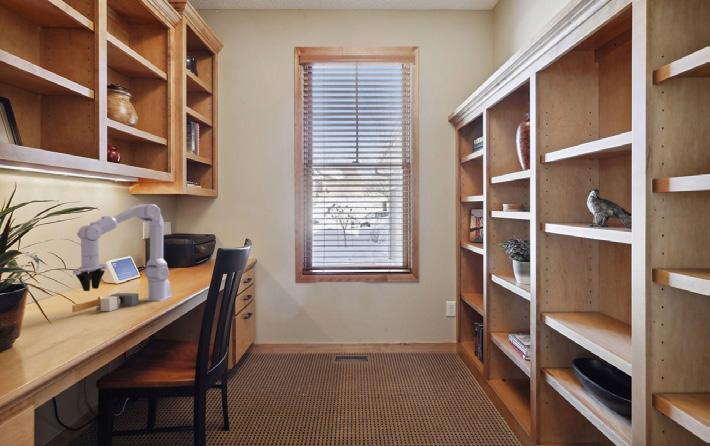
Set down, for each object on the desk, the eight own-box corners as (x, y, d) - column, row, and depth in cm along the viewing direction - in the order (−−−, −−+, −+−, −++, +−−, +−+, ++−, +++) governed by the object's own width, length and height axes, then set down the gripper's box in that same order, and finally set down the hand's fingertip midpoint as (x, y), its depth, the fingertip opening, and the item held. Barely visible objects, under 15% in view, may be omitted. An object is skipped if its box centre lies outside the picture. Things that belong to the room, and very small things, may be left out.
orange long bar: (100, 305, 164) (99, 296, 164) (102, 305, 163) (102, 296, 163) (72, 313, 152) (71, 303, 152) (74, 313, 152) (74, 303, 151)
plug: (113, 306, 166) (112, 294, 166) (122, 306, 166) (122, 294, 166) (100, 310, 159) (99, 298, 159) (110, 311, 159) (109, 298, 159)
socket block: (116, 303, 173) (115, 292, 173) (138, 304, 172) (138, 293, 171) (96, 309, 162) (96, 298, 162) (120, 310, 161) (120, 299, 160)
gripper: (95, 253, 164) (96, 285, 164) (65, 257, 149) (66, 293, 150) (110, 253, 163) (111, 286, 163) (81, 258, 148) (82, 293, 149)
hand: (91, 289), depth 156 cm, fingers open, 4 cm apart
